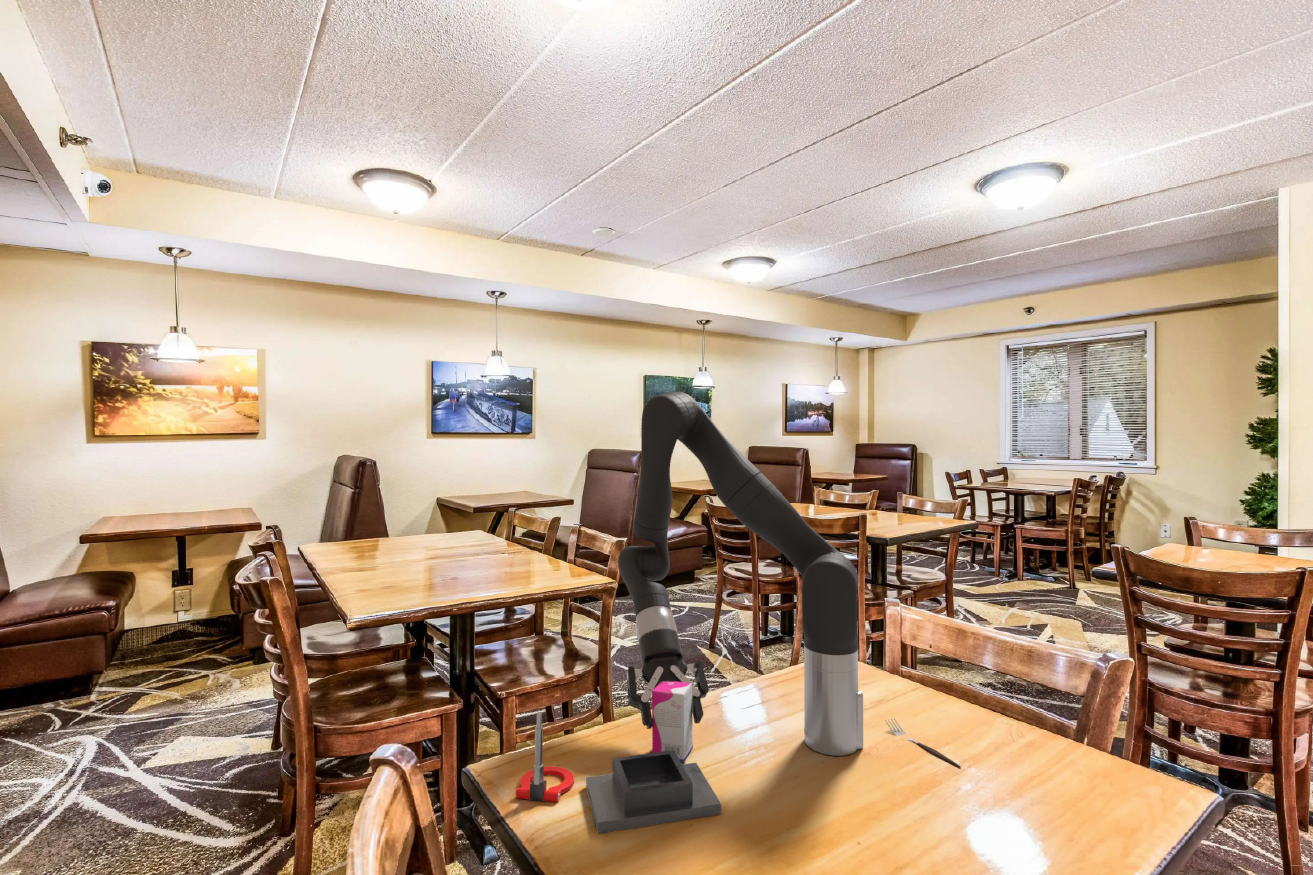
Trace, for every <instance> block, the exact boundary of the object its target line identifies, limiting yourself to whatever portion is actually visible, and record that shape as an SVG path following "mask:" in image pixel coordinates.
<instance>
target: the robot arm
mask: <svg viewBox="0 0 1313 875" xmlns="http://www.w3.org/2000/svg"><path fill="white" fill-rule="evenodd" d="M640 434H641V435H640V436H641V440H640V441H641V445H640V446H641V451H640V452H641V453H640V454H641V455H640V476H639V477H640V478H639V479H640V480H639V491H638V497H637V501H636V502H637V503H636V507H635V508H636V509H635V513H634V519H633V526H632V528H633V529H632V530H633V531H632V532H633V533H634V535H635V536H636V537H637V538H639V540H643V541H647V542H650V543H652V545H649V546H648V545H628V546H625V547H623V549H622V550H621V551H620V553H619V555H618V559H617V567H618V570H619V575H620V576H621V578H622V581H623V583H624V585H625V586H626V588H627V590H628V593H629V595H630V598H631V600H632V603H633V608H634V615H635V620H636V621H635V623H636V625H635V626H636V637H637V640H638V646H639V653H640V658H641V665H642V667H641V668H635V667H634V666H632V665H631V666H629V667H628V669H627V672H626V674H625V677H626V687H627V688H626V690H627V700H628V702H627V703H628V704H629V705H630V706H638V708H639V709H640V710H639V711H640V716H641V723H642V724H643V726H646V730H652V726H653V721H652V708H651V704H650V702H649V700H650V699H651V698H652V691H653V690H654V689H655V688H656V687H657V686H658V684H659V683H660V682H662V681H676V682H685V683H692V681H691V680H690V679H689V678H688V677H687V676H686V674H687V673H689V674H690V675H691V677H693V678H694V680H695V683H696V686H695V685H694V684H692V718H693V721H694V722H693V723H694V724H700V723H701V721H702V718H703V717H704V711H703V706H702V702H701V700H702V699H704V698H706V696H707V694H708V693H709V691H710V687H709V684H708V681H707V680H708V679H707V678H706V674H705V670H704V667H703V664H702V662H701V660H696V661H694V663H688V664H687V663H686V662H685V661H684V658H683V653H682V652H683V651H682V648H681V643H680V638H679V634H678V629H677V624H676V620H675V618H674V615H673V611H672V608H671V603H670V597H669V593H668V590H667V588H666V587H665V585H663V584H661V583H658V581H662V580H664V579H665V578H666V577H667V575H668V573H669V572H670V567H671V564H670V563H671V562H670V554H669V546H668V545H669V544H668V534H669V533H668V530H669V525H670V518H671V514H672V508H673V488H672V483H671V474H670V473H671V463H672V456H673V453H674V450H675V447H676V444H677V442H678V441H679V442H680V443H681V444H683V445H684V446H685V447H686V448H687V449H688V450H689V451H690V452H691V453H692V454H693V455H694V456H695V457H696V458H697V459H698V461H699V462H700V463H701V466H702V467H703V470H704V471H705V473H706V475H707V477H708V480H709V483H710V484H711V486H712V489H713V491H714V493H715V494H716V495H717V497H718V500H720V501H721V503H722V504H723V505H724V506H725V507H726V508H727V509H728V510H729V512H730V513H731V514H733V516H734V517H735V518H736V519H737V520H738V521H739V522H740V523H741V524H742V525H743V526H745V527H746V529H748V530H749V531H751V532H752V533H754V534H755V535H757V536H758V537H760V538H761V539H762V540H764V541H766V542H767V543H769V544H770V545H771V546H772V547H774V548H776V549H777V551H779V552H780V553H781V554H783V556H785V557H786V559H788V561H789V562H790V563H791V564H792V565H793V566H794V568H795V569H796V571H797V572H798V573H799V574H800V575H801V577H802V582H801V618H802V619H801V622H802V632H803V655H804V656H803V661H804V662H803V664H804V666H803V667H804V669H803V670H804V671H803V673H804V674H803V675H804V676H803V677H804V678H803V680H804V681H803V682H804V683H803V684H804V688H803V689H804V693H803V694H804V695H803V696H804V698H803V699H804V700H803V701H804V703H803V704H804V707H803V708H804V710H803V712H804V725H803V726H804V727H803V731H804V732H803V733H804V743H805V744H806V746H807V747H809V748H810V749H811V750H813V751H815V752H816V753H817V752H818V753H820V754H823V755H828V756H835V757H837V756H839V757H840V756H848V755H852V754H854V753H855V752H856V751H857V750H859V749H864V694H863V692H862V691H860V690H859V633H858V631H859V630H858V587H859V575H858V574H859V573H858V572H857V568H856V566H854V563H852V561H851V560H850V559H849V558H848V557H846V556H845V555H844V554H843V553H841V552H840V551H839V550H838V549H836V548H835V547H834V546H833V545H832V544H830V543H829V542H828V541H827V540H826V539H825V538H823V536H821V535H820V534H819V533H817V532H816V531H815V530H814V529H813V528H812V527H811V526H810V524H808V523H807V521H806V520H805V519H804V518H803V517H802V516H801V515H800V513H799V512H798V511H797V510H796V508H795V507H794V506H793V505H792V504H791V503H790V501H789V500H788V499H787V498H786V497H785V496H784V495H783V493H782V492H781V491H780V490H778V488H777V487H776V486H775V485H774V484H773V483H772V482H771V481H770V480H769V479H768V478H767V477H766V476H765V475H764V474H763V473H762V472H761V470H759V469H758V468H757V467H756V466H755V464H753V463H752V462H751V460H749V459H748V458H747V457H746V456H745V455H744V454H743V453H742V452H741V451H740V450H739V448H737V447H736V446H735V445H734V444H733V443H732V442H731V441H730V440H729V439H728V438H727V437H726V436H725V435H724V433H722V432H721V430H720V428H718V427H717V426H716V424H715V423H714V422H713V421H712V419H711V418H710V417H709V415H708V414H707V413H706V411H705V410H704V409H703V408H702V406H701V405H700V404H699V403H698V402H697V401H696V399H695V398H694V397H692V396H690V394H687V393H685V392H682V391H672V392H671V391H670V392H666V393H661V394H658V395H655V396H653V397H651V398H650V399H649V400H648V401H646V403H645V405H644V407H643V410H642V414H641V432H640ZM656 581H657V582H656ZM640 677H641V678H642V679H643V680H644V681H645V682H646V683H647V685H646V688H645V690H644V692H643V694H642V695H639V694H638V689H637V682H638V681H639V678H640Z"/></svg>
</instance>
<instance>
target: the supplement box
mask: <svg viewBox="0 0 1313 875" xmlns="http://www.w3.org/2000/svg"><path fill="white" fill-rule="evenodd" d="M692 685H693V683H692V682H691V683H685V682H676V681H662V682H660V683H659V684H658V686H657V687H656V688H655V689H654V690H653V691H652V695H651V715H652V721H653V726H652V728H651V732H652V733H651V734H652V735H651V736H652V740H651V742H652V752H651V753H656V752H664V751H672V750H674V751H675V753H676V755H677V756H678V758H679V760H680V762H681V763H682V764H683V763H684V764H685V763H686V760H687V758H688V757H689V755H690V753H691V752H692V750H693V748H694V743H693V741H694V740H693V738H694V737H693V736H694V734H693V731H694V730H693V723H694V722H693V713H692Z"/></svg>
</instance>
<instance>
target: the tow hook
mask: <svg viewBox="0 0 1313 875" xmlns="http://www.w3.org/2000/svg"><path fill="white" fill-rule="evenodd" d="M542 725H543V713H542V712H537V713H536V726H535V727H534V764H533V766H532V768H533V769H530V770H529V771H527V772H526V773H524V774H522V776H521V777H520V778H519V787H517V789H516V792H515V798H516V799H519V800H520V799H523V800H530V801H532V802H551V803H552V802H553V803H559V802H560V799H561V795H562V794H564V793H566V792H568V791H570V790H571V788H573V786H574V784H575V775H574V774H573V772H572V771H570V770H569V769H567V768H564V767H561V766H553V765H552V766H551V765H549V766H544V762H543V759H544V758H543V757H544V756H543V755H544V754H543V750H544V747H543V746H544V743H543V742H544V726H542ZM545 776H556V777H560V778H562V780H563V781H562V782H561V783H560V784H559V783H558V784H557V785H554V786H551V787H549V788H548V789H547V780H545V779H544V777H545Z"/></svg>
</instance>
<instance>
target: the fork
mask: <svg viewBox="0 0 1313 875" xmlns="http://www.w3.org/2000/svg"><path fill="white" fill-rule="evenodd" d="M893 720H894V721H893ZM884 721H885V723H886V725H887V726H888V727H889V729H890V731H891V732H892V734H893V735H894V736H895V737H899V736H903V735H906V734H907V732H906V731H905V730H904V729H903V727H902V726H901V725H900V724H899V723H898V721H897V719H896V718H893V719H888V720H887V719H885V720H884ZM888 722H889V723H888ZM892 723H893V724H892ZM894 726H895V727H894ZM906 741H909V742H912V743H914V744H916V745H917V746H919V747H920V748H921V749H923V751H924V750H925V752H927V753H929V754H931V755H933V756H934V757H937V758H938V759H940V760H943V761H945V762H946V763H948V764H950V765H953V766H955V767H957V768H959V769H962V766H961V765H959V763H956V762H955V761H953V760H952V759H950V758H949V757H947V756H945V755H944V754H943V753H941V752H939V751H938V750H936V749H934V748H932V747H929V746H928V745H926V744H923V743H921V742H919V741H917V740H914V738H907V739H906Z"/></svg>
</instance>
